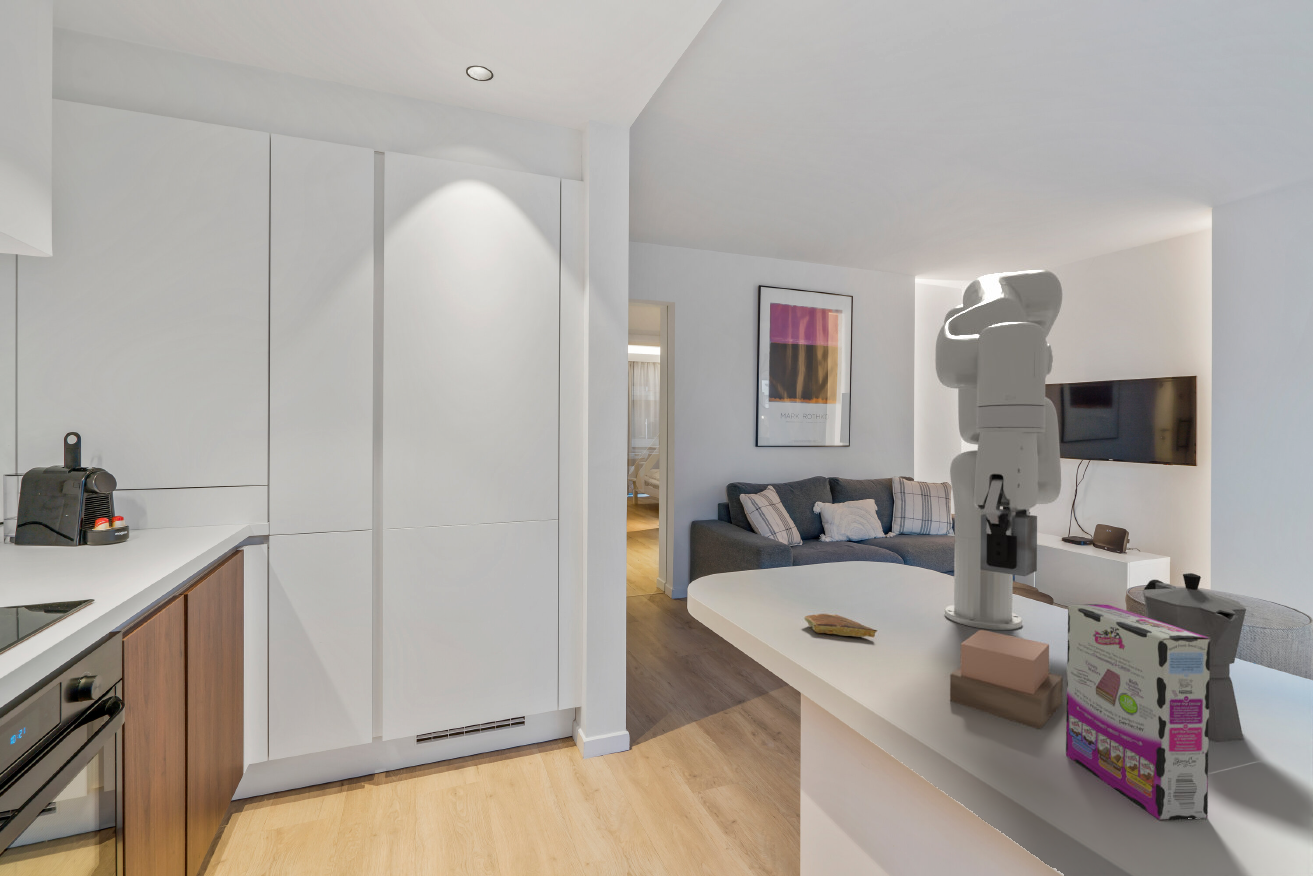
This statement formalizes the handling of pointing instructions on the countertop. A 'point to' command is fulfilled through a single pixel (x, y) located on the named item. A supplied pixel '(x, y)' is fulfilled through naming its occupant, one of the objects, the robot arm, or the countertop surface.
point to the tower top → (1005, 660)
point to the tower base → (1008, 698)
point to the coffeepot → (1223, 629)
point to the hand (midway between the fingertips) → (1008, 562)
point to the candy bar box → (1139, 708)
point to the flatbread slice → (838, 625)
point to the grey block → (1025, 546)
